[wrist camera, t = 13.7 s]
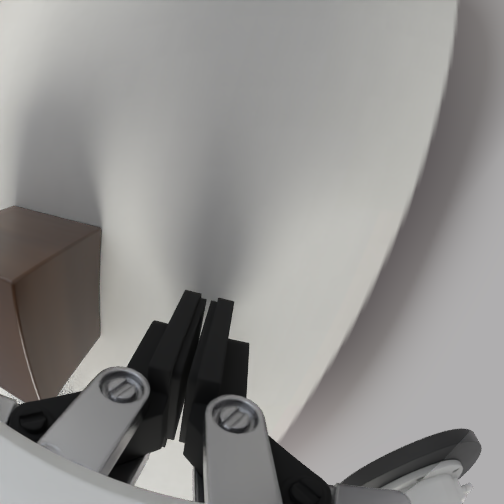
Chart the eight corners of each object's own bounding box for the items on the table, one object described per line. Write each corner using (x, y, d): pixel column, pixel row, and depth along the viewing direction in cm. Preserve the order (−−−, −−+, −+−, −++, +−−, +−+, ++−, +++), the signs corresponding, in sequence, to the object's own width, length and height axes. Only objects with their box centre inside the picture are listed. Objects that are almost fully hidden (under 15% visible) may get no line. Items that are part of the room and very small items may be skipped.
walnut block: (102, 227, 10) (12, 282, 5) (101, 336, 12) (45, 414, 7) (14, 204, 10) (-71, 238, 5) (20, 303, 11) (-41, 357, 7)
